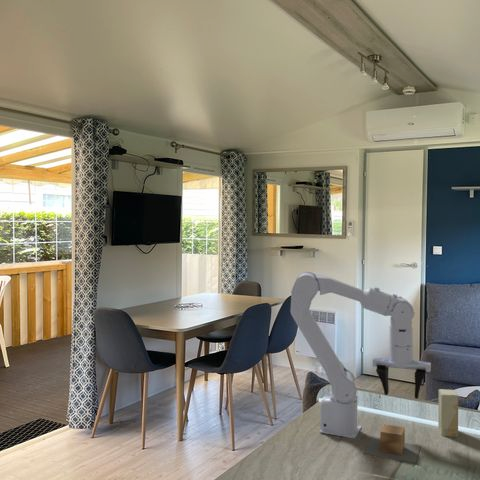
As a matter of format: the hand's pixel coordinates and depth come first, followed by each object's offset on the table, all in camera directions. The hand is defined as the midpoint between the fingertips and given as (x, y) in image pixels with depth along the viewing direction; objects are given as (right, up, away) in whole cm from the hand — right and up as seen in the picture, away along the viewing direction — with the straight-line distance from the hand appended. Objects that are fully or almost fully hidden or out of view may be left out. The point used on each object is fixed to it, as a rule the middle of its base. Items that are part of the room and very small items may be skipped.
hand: (401, 395), depth 143 cm
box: (+13, -11, +1) cm, 16 cm away
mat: (-5, -11, -9) cm, 15 cm away
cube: (-5, -11, -9) cm, 15 cm away
